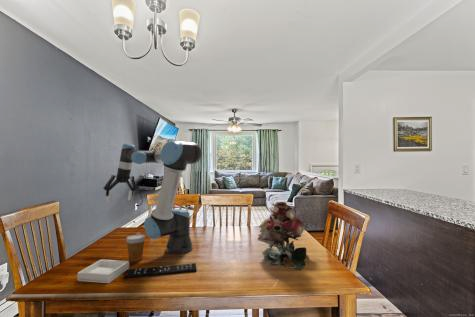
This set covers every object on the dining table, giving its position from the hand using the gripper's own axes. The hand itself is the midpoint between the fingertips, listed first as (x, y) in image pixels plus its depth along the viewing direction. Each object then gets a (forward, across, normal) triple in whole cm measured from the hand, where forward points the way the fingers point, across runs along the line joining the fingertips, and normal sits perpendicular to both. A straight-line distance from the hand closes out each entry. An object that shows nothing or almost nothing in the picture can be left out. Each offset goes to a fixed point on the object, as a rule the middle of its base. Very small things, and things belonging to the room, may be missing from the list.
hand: (118, 200), depth 158 cm
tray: (+20, +22, +45) cm, 54 cm away
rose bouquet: (+3, -47, +95) cm, 106 cm away
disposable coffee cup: (+19, +4, +40) cm, 44 cm away
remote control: (+15, +4, +62) cm, 64 cm away
